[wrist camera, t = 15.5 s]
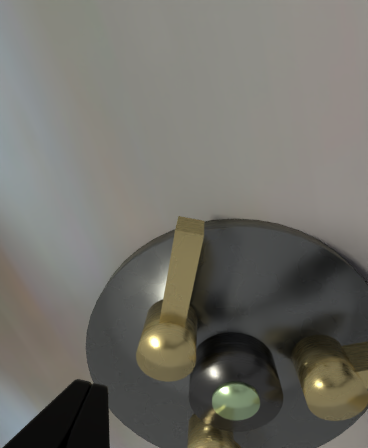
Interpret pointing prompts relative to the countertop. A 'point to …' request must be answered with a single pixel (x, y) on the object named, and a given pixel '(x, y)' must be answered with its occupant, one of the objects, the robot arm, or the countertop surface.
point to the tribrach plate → (229, 301)
